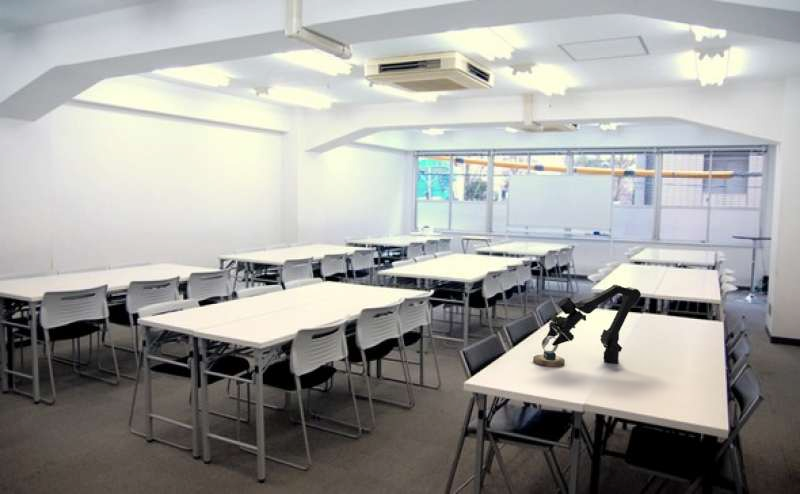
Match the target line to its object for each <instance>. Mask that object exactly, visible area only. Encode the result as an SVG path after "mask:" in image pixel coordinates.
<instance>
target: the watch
mask: <svg viewBox="0 0 800 494" xmlns="http://www.w3.org/2000/svg"><path fill="white" fill-rule="evenodd" d="M550 338H551V339H555V340H556V338H557V337H556V336H555V337H553V336H548V337H546V336H545V337H543V339H542V341H541V347H542V349H543V355H544V358H545V359H546V360H556V356H557V355H556V354H557V353H556V351H557V349H558V347H559V344H558V345H555V346H554V347H553V348H552V350H546V346H547V345H548V344H549V343H550V340H551V339H550Z"/></svg>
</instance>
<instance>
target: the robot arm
mask: <svg viewBox="0 0 800 494" xmlns="http://www.w3.org/2000/svg"><path fill="white" fill-rule="evenodd" d="M617 295H621V304H620V306H619V307H618V310H617V312H616V314H615V316H614V318H613V320H612V322H611V323H610V326H609V328H608V329H603V331H602V333H601V335H600V342H601V344H602V345H603V348H605V349H604V350H603V358H602V359H603V363H608V364H617V365H618V364H619V362H620V360H619V357H620V356H619V355H620V353H621V351H622V350H623V347H622V346H621V345H620V344H619V340H620V331H621V330H622V327H623V325H624V323H625V321H626V319H627V316H628V314H629V312H630V311H631V309H632V307H633V306H634V305H635V304H637V302H638V301H639V300H640V298H641V295H642V293H641V291H640V289H637V288H635V287H631V286H628V287H623V286H622V285H619V284H612V285H611V286H610V287H608V288H607V289H605V290H603V291H601V292H599V293H597V294H596V295H594V296H591V297H587V298H585V299H580V300H579V301H578V302H573V301H572V299H571V298H570V297H569V296H566V297H565V298H562V299H561V300H560V301H559V302H558V303H557V307H558V308H559V309H560V310H561V311H562V313H564V314H565V315H567V316H566V317H565V316H561V315H559V316H558V315H555V314H552V315H551V317H550V318H549V320H550V322H549V323H548V327H549V330H548V333H547V334H546V336H545V337H548V336H553V337H555V338H556V339H555V340H554V341H553V342H552V343H551V345H552V346H554V347H555V345H558V346H559V345H560V344H562V343H563V344H564V343H566V342H572V341H573V340H574V339H575V335H574V334H573V333H572V332H571V331H572V329H575V328H576V325H577V324H578V323H579V322H581V320H582V321H584V322H586V321H587V315H588V314H589V315H590V314H591V313H592V312H593V311H595V310H596V309H597V307H598V306H599V305H601V304H603V303H605V302H606V301H608V300H611V298H614V296H617ZM586 314H587V315H586ZM556 336H557V337H556ZM550 340H552V338H550Z"/></svg>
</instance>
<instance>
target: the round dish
mask: <svg viewBox="0 0 800 494" xmlns="http://www.w3.org/2000/svg"><path fill="white" fill-rule="evenodd" d="M532 358H533V360H532V361H533V363H534V364H535V365H537V366H540V367H541V366H542V367H546V368H561V367H564V366H565V363H566V362H565V361H566V360H565V358H563V357H561V356H558V355H556V360H546V359H545V358H544V354H537V355H536V354H535V355H534V356H533V357H532Z"/></svg>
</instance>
